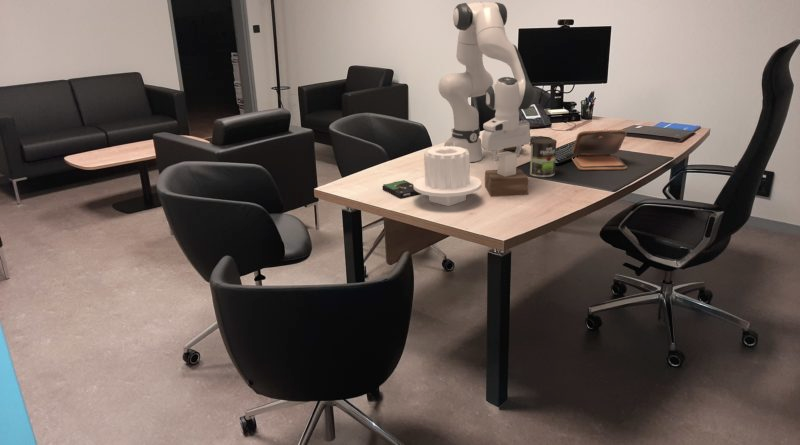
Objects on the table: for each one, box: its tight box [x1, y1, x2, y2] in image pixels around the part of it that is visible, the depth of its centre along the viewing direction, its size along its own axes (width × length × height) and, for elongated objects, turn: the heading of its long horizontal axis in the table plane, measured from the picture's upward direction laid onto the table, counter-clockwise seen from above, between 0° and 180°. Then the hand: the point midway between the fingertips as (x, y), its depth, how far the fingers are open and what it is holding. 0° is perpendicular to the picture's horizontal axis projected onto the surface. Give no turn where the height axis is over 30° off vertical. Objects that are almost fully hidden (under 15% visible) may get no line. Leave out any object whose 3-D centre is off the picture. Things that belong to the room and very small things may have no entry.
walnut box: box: [484, 168, 529, 198], centre depth 241 cm, size 13×14×7 cm
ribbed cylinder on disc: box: [412, 145, 482, 207], centre depth 230 cm, size 25×25×19 cm
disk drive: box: [382, 179, 422, 200], centre depth 246 cm, size 10×3×15 cm
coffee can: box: [529, 137, 557, 178], centre depth 259 cm, size 10×10×14 cm
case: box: [571, 129, 628, 171], centre depth 269 cm, size 20×21×16 cm
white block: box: [496, 151, 517, 177], centre depth 238 cm, size 5×5×8 cm
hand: (506, 158), depth 238 cm, fingers open, 8 cm apart
